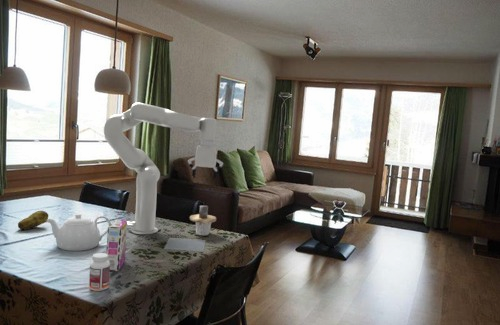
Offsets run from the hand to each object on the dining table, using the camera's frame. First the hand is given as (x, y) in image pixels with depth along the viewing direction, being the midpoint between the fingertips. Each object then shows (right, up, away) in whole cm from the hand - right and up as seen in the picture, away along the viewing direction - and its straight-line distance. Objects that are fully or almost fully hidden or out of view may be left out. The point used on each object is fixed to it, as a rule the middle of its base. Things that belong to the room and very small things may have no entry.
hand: (204, 178), depth 204 cm
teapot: (-50, -28, -27) cm, 63 cm away
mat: (-7, -30, -16) cm, 34 cm away
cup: (-2, -28, +2) cm, 29 cm away
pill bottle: (-27, -33, -67) cm, 80 cm away
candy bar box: (-28, -31, -47) cm, 63 cm away
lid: (-1, -20, +1) cm, 20 cm away
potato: (-79, -23, -9) cm, 83 cm away
